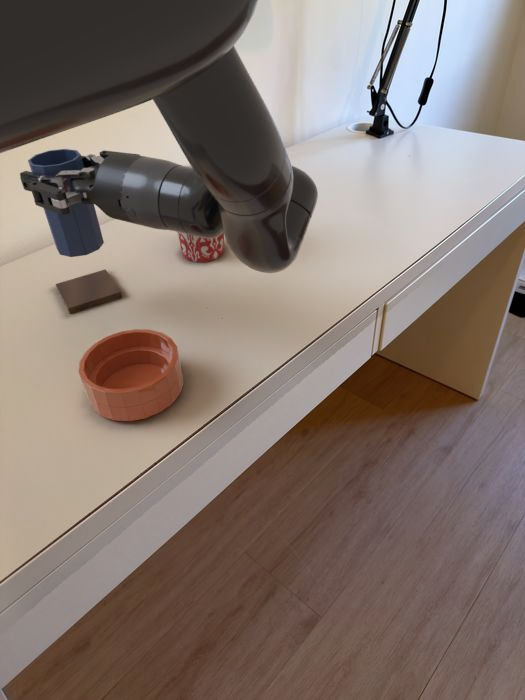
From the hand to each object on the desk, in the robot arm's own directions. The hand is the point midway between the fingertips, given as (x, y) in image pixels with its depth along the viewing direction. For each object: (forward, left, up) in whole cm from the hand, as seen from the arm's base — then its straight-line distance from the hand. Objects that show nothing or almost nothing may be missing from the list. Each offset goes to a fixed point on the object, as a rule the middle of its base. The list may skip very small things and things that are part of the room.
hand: (46, 170), depth 67 cm
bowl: (0, -23, -20) cm, 30 cm away
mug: (+21, +6, -20) cm, 30 cm away
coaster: (+1, +2, -20) cm, 20 cm away
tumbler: (+1, -2, -10) cm, 10 cm away
